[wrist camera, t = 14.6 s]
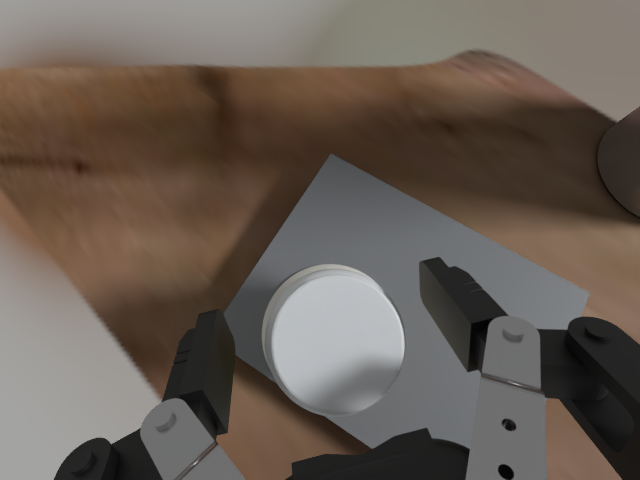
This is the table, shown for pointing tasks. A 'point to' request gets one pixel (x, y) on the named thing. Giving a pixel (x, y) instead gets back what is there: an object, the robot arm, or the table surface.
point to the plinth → (396, 293)
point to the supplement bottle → (335, 342)
